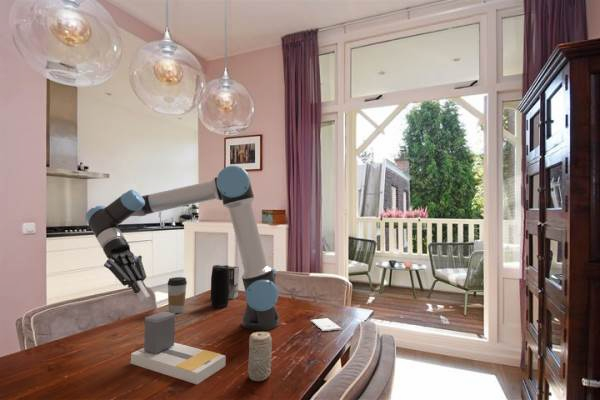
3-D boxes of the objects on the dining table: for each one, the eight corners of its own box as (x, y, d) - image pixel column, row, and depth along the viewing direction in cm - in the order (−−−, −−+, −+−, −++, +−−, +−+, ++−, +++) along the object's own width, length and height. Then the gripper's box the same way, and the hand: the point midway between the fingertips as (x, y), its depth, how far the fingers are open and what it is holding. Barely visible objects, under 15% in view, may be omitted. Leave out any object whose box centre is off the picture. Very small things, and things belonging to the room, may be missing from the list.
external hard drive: (327, 321, 142) (341, 331, 130) (310, 323, 139) (323, 333, 127) (328, 317, 142) (341, 327, 131) (310, 319, 139) (323, 329, 128)
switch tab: (143, 350, 100) (144, 317, 100) (162, 342, 106) (163, 311, 107) (155, 354, 98) (156, 320, 98) (174, 345, 104) (175, 313, 105)
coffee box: (238, 296, 179) (239, 266, 180) (233, 299, 173) (234, 268, 173) (222, 295, 181) (223, 265, 181) (217, 298, 174) (218, 267, 175)
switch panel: (130, 363, 99) (131, 352, 99) (162, 348, 110) (163, 339, 110) (196, 384, 88) (197, 372, 88) (225, 365, 98) (225, 355, 99)
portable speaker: (230, 304, 164) (231, 264, 164) (225, 309, 154) (226, 267, 155) (213, 303, 164) (215, 264, 165) (207, 308, 155) (209, 267, 156)
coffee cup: (179, 315, 144) (180, 281, 145) (162, 313, 146) (163, 280, 147) (189, 309, 153) (190, 277, 153) (173, 308, 154) (174, 276, 155)
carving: (244, 382, 89) (245, 338, 89) (253, 369, 96) (254, 328, 97) (266, 385, 88) (267, 340, 88) (273, 372, 95) (274, 330, 96)
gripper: (125, 249, 120) (156, 301, 112) (89, 253, 108) (121, 311, 101) (136, 235, 118) (168, 288, 110) (101, 237, 106) (134, 296, 98)
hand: (145, 299), depth 105 cm, fingers closed
